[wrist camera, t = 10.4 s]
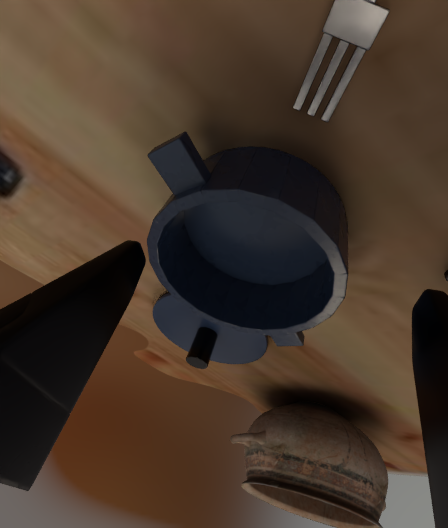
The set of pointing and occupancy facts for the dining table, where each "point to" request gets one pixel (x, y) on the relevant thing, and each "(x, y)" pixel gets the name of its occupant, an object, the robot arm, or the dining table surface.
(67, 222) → the dining table surface
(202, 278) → the saucepan
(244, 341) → the lid
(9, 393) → the robot arm
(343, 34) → the fork
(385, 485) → the cooking pot
